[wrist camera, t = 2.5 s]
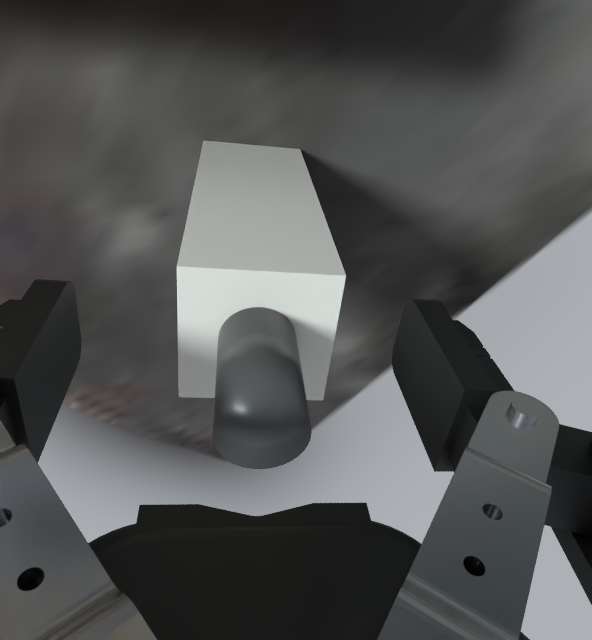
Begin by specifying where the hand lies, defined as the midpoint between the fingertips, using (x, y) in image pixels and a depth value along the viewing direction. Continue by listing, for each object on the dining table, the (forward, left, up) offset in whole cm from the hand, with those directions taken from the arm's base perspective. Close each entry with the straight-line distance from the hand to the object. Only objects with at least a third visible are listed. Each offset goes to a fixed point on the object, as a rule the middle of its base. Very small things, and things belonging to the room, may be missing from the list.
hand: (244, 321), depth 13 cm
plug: (0, 0, -9) cm, 9 cm away
